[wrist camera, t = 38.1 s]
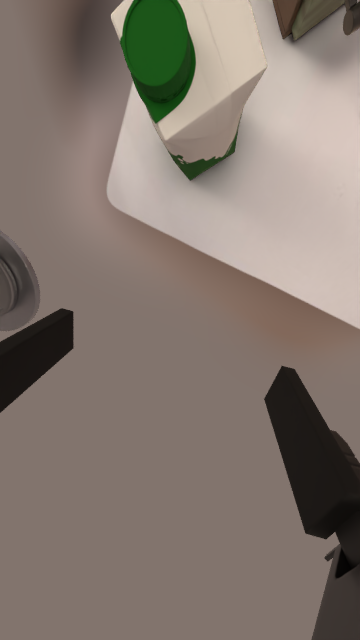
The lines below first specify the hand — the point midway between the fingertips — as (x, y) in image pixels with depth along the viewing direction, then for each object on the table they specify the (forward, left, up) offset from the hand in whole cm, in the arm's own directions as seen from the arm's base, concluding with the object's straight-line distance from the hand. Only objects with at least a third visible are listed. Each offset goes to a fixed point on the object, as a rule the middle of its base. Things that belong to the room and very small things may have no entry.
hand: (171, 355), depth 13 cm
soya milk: (-4, +18, -27) cm, 33 cm away
